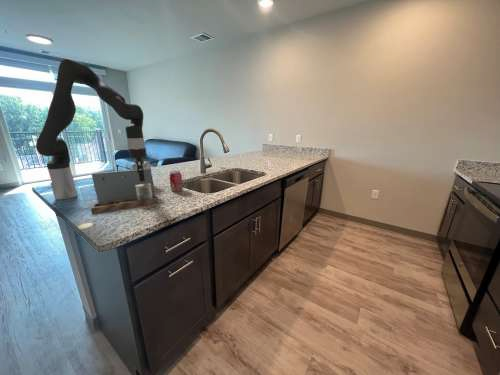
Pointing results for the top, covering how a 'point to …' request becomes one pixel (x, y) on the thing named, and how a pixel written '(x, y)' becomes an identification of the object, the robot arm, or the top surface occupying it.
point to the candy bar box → (146, 166)
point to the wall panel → (119, 184)
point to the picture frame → (144, 191)
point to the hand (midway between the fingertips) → (142, 179)
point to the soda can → (176, 181)
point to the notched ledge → (121, 204)
